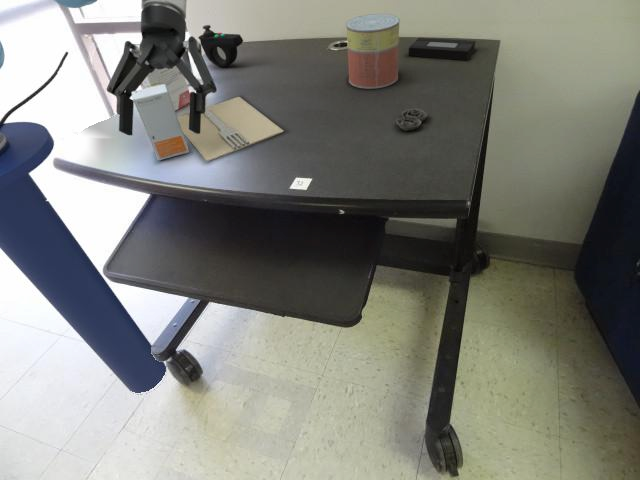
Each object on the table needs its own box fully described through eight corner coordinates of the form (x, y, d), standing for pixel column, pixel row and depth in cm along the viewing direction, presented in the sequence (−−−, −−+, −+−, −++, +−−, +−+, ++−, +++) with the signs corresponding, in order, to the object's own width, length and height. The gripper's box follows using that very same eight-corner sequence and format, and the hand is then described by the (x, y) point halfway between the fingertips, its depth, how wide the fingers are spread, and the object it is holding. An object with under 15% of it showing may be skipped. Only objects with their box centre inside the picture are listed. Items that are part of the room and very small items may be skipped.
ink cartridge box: (180, 98, 96) (156, 31, 86) (193, 101, 93) (170, 34, 83) (150, 113, 91) (122, 44, 81) (163, 117, 89) (136, 47, 79)
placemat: (172, 120, 87) (172, 119, 87) (239, 97, 92) (239, 96, 92) (207, 161, 73) (206, 160, 72) (283, 132, 78) (283, 130, 78)
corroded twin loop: (391, 130, 74) (391, 125, 73) (405, 111, 79) (405, 106, 78) (417, 134, 72) (417, 129, 71) (430, 114, 77) (431, 109, 76)
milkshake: (199, 77, 105) (186, 36, 98) (195, 85, 101) (182, 43, 94) (182, 79, 105) (168, 39, 98) (178, 87, 101) (163, 45, 94)
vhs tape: (418, 45, 105) (418, 37, 104) (474, 49, 99) (475, 40, 98) (408, 55, 100) (408, 47, 99) (466, 60, 94) (468, 51, 93)
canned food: (376, 65, 98) (375, 11, 90) (408, 77, 91) (411, 19, 83) (339, 79, 94) (335, 23, 86) (370, 93, 87) (369, 33, 78)
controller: (213, 62, 112) (202, 23, 106) (250, 64, 108) (241, 24, 101) (204, 68, 110) (192, 28, 103) (242, 70, 105) (232, 29, 98)
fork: (197, 112, 88) (196, 110, 88) (210, 108, 89) (209, 106, 89) (234, 149, 74) (233, 147, 74) (249, 143, 75) (248, 141, 75)
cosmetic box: (158, 162, 74) (131, 100, 66) (156, 151, 77) (130, 91, 69) (190, 152, 76) (167, 91, 68) (187, 143, 79) (165, 82, 71)
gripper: (237, 22, 74) (233, 136, 73) (116, 31, 78) (112, 139, 78) (219, -4, 66) (215, 123, 66) (87, 8, 71) (82, 127, 70)
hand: (159, 132), depth 72 cm, fingers open, 13 cm apart
